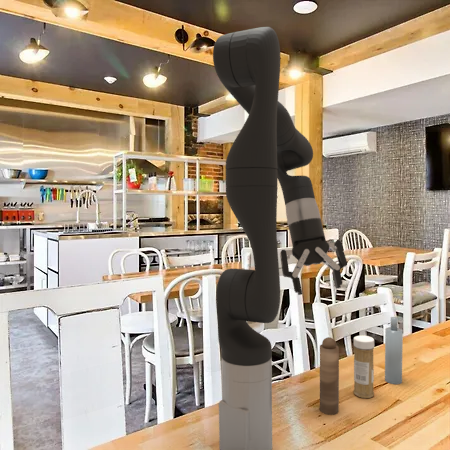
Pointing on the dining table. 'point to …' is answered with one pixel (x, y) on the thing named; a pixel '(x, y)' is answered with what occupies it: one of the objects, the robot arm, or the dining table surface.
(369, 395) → the sprinkles bottle
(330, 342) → the pepper mill
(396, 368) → the ceramic cruet
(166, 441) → the dining table surface
